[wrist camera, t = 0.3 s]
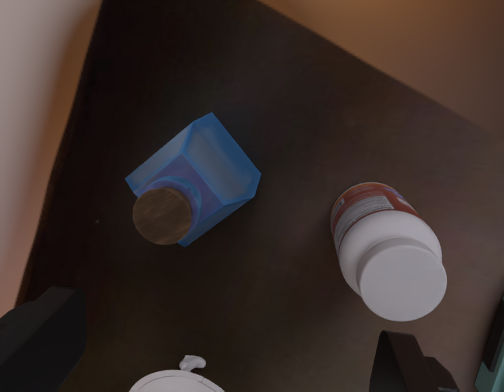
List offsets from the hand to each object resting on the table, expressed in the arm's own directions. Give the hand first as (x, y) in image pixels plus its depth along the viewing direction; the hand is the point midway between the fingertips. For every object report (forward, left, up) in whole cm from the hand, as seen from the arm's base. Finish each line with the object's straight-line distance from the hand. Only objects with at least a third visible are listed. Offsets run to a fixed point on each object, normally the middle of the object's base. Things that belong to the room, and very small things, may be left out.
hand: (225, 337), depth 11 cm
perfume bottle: (+1, -5, -23) cm, 23 cm away
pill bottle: (+3, +8, -23) cm, 24 cm away
